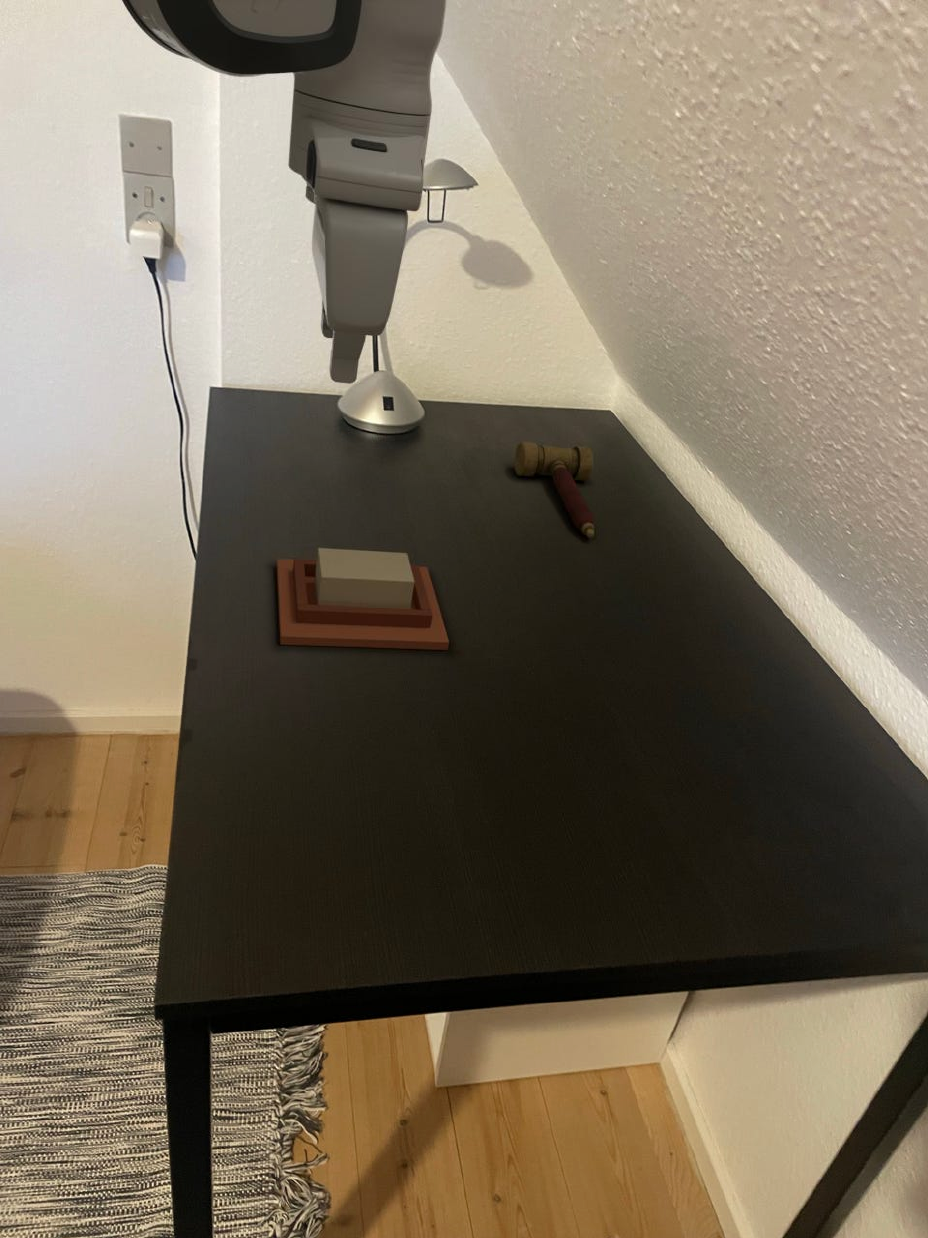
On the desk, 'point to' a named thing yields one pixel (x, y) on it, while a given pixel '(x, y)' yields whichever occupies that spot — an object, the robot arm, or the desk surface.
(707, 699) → the desk surface
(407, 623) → the base pad
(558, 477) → the gavel
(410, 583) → the top pad
